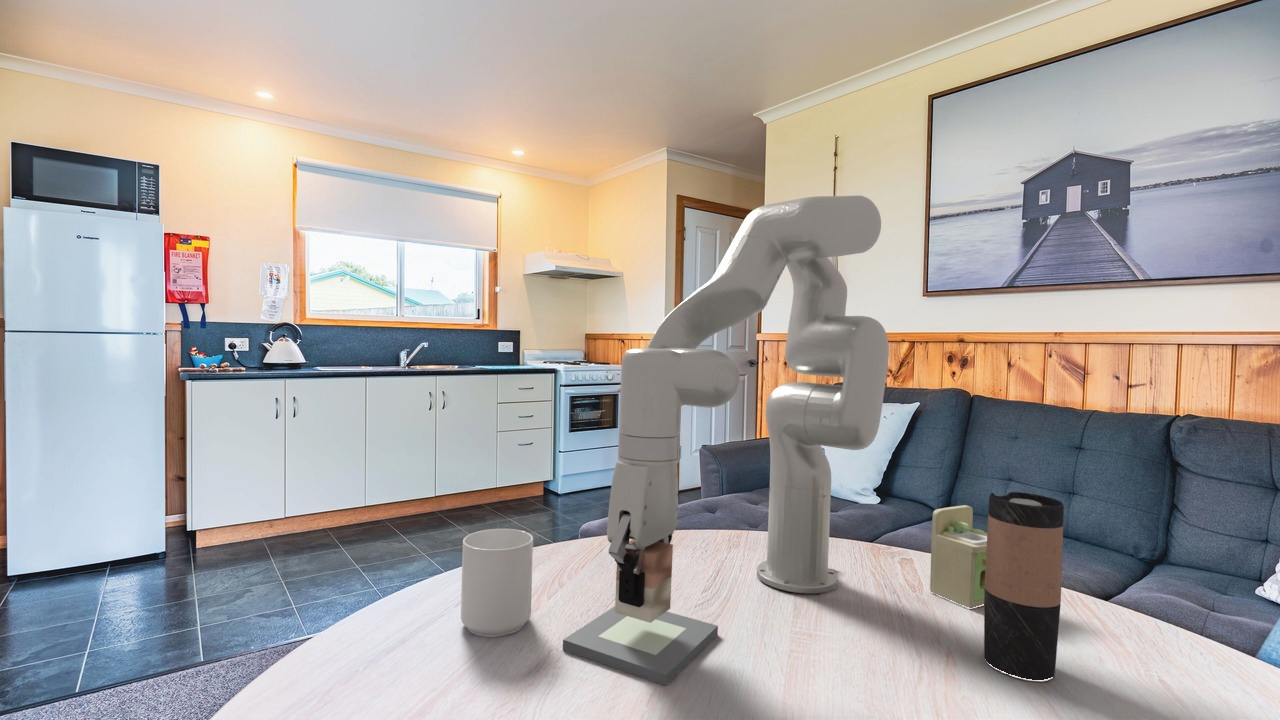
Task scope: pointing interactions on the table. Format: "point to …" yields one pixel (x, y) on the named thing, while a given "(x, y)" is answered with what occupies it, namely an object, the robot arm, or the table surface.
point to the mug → (496, 581)
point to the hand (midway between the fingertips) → (643, 594)
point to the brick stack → (651, 583)
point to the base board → (642, 643)
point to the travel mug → (1023, 584)
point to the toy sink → (958, 556)
